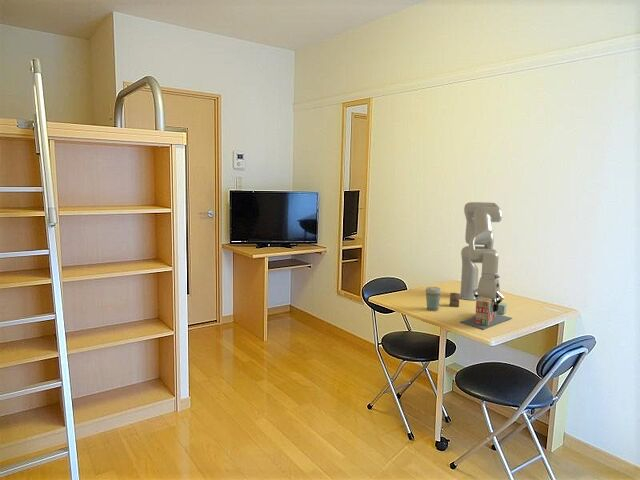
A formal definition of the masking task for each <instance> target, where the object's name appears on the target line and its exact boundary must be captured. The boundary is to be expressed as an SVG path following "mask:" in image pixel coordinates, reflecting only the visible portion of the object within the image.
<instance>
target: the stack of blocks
mask: <svg viewBox="0 0 640 480" xmlns="http://www.w3.org/2000/svg"><path fill="white" fill-rule="evenodd" d="M493 304H494V302H493V300H492V298H487V297H483V296H480V297H479V298H478V299H477V300H475V315H474V317H475V324H480V325H486V326H488V325H489V324H490V322H491V321H492V320H493V318H494V317H495V316H496V315H497V314H498V313H497V311H496V312H493Z"/></svg>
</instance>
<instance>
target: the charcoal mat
mask: <svg viewBox="0 0 640 480" xmlns="http://www.w3.org/2000/svg"><path fill="white" fill-rule="evenodd" d="M512 319H513V317H510V316H507V315H503V314H498V313H497V315H496V316H495V317H494V318H493V320H492V321H491V322H490V324H489V325H488V326H486V325H480V324H475V316H472V317H470V318H467V319H463V320H461V321H459V323H460V324H463V325H467V326H470V327H472V328H476V329H480V330H483V331H484V330H486V329H488V328H492V327H494V326H496V325H500V324H502V323H505V322H508V321H510V320H512Z"/></svg>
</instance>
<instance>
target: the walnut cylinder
mask: <svg viewBox="0 0 640 480" xmlns="http://www.w3.org/2000/svg"><path fill="white" fill-rule="evenodd" d="M459 294H460V293H459V292H450V294H449V296H450V297H449V306H450V307H451V306H452V308H458V307H459V306H460V298H459Z"/></svg>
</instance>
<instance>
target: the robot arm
mask: <svg viewBox="0 0 640 480" xmlns="http://www.w3.org/2000/svg"><path fill="white" fill-rule="evenodd" d="M463 212H464V213H463V214H464V216H465V219H466V225H465V236H464V237H465V238H464V239H465V243H467V244H468V245H467V246H464V247H462V249H461V252H460V253H461V254H460V256H461V276H460V277H461V279H460V293H459V299H463V300H467V301H476V300H477V299H478V298H479V297H480V296H483V297H487V298H492V300H493V302H494V304H493V312H496V311H497V310H498V304H499V303H503V300H504V299H505V296H503V294H501V291H500V290H501V289H500V288H501V287H500V280H499V279H500V275H499V274H498V269H499V259H500V258H499V257H500V256H499V253H498V251H497V249H494V242H495V241H494V239H495V236H494V231H493V225H492V223H500V222H501V221H502V218H503V212H502V209H501V207H500V206H499V205H498V204H497V203H495V202H485V201H484V202H483V201H482V202H481V201H480V202H479V201H478V202H477V201H471V202H467V203H466V204H465V205H464V207H463ZM476 245H477V246H476ZM476 264H481V274H480V275H481V277H480V278H479V267H478V266H477V265H476Z"/></svg>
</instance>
